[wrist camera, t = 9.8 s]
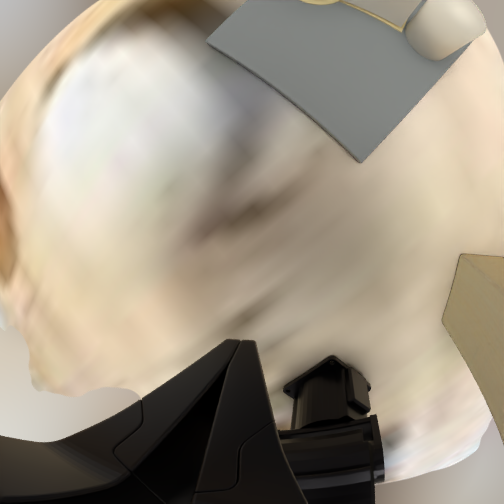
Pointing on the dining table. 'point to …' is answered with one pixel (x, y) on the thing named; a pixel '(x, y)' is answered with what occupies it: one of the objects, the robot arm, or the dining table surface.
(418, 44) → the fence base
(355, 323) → the dining table surface
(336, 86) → the board
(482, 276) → the toy refrigerator
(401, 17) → the fence post
